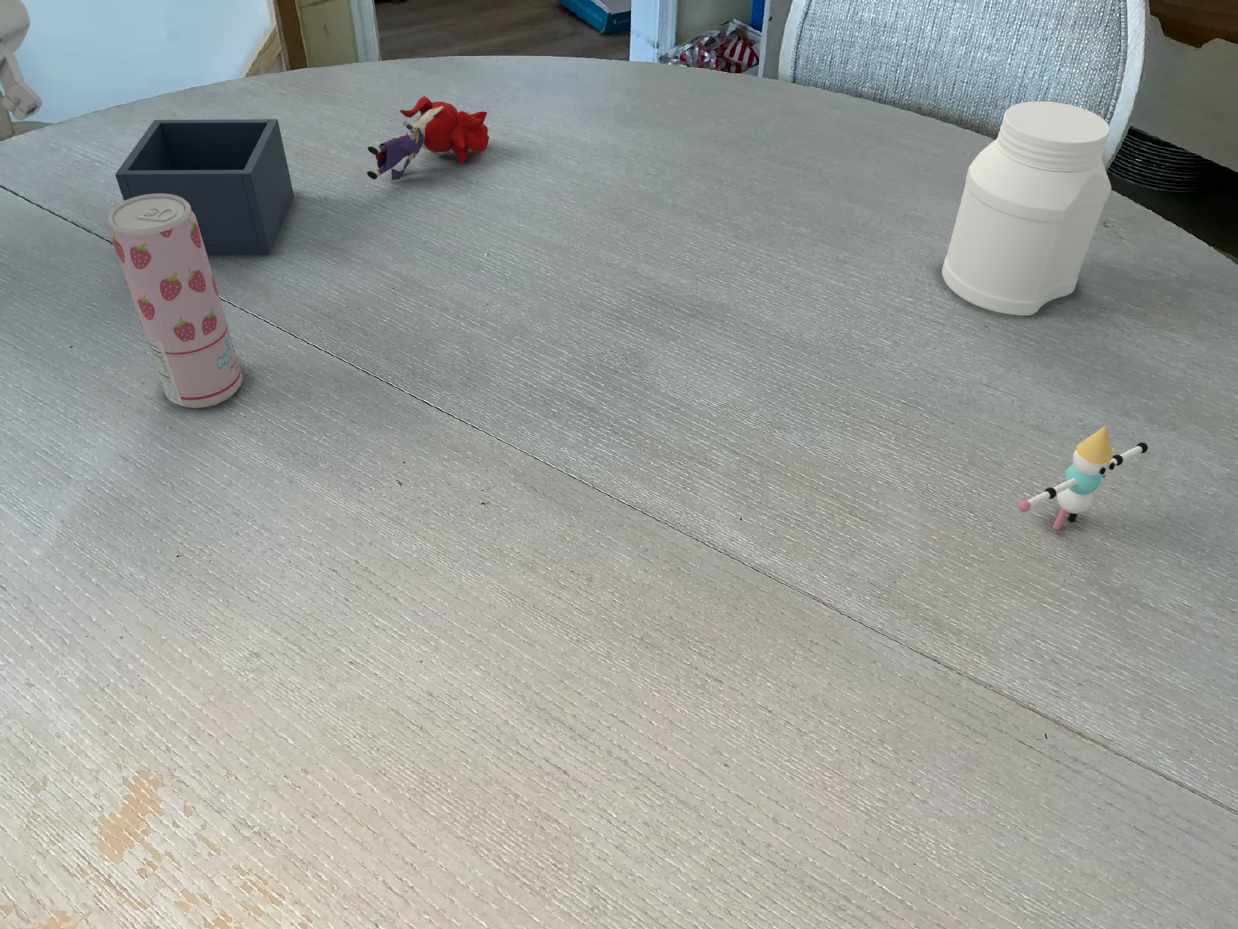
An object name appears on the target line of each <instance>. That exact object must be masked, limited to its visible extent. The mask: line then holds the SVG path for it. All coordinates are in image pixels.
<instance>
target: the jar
mask: <svg viewBox="0 0 1238 929" xmlns="http://www.w3.org/2000/svg"><path fill="white" fill-rule="evenodd" d="M1110 133H1111V128H1110V125H1109V124H1108V122H1107V120H1105V119H1104V118H1103V117H1102V116H1100V115H1098V114H1096V113H1094V112H1092V111H1090V110H1088V109H1086V108H1082V107H1080V106H1075V105H1072V104H1067V103H1062V102H1056V101H1055V102H1054V101H1046V100H1045V101H1044V100H1043V101H1042V100H1041V101H1034V100H1033V101H1025V102H1020V103H1016V104H1013V105H1012V106H1010V107H1008V108H1007V109H1006V110H1005V112H1004V113H1003V118H1002V122H1001V125H1000V128H999V132H998V135H997V137H996V138H995V140H993V141H992V142H991V143H989V144H988V145H987V146H986V147H985V148H983V149H982V150H981V151H980V152H979V153H978V154H977V155H976V157H975V158H974V159H973V161H972V162H971V164H970V165H969V166H968V169H967V173H966V177H965V184H964V188H963V193H962V196H961V200H960V204H959V208H958V211H957V215H956V220H955V223H954V227H953V230H952V235H951V238H950V242H949V245H948V249H947V253H946V255H945V257H944V261H943V264H942V268H941V275H942V278H943V280H944V282H945V284H946V285H947V287H948V288H949V289H950V290H951V291H952V292H953V293H954V294H956V295H957V296H958V297H960V298H961V299H963V300H965V301H966V302H968V303H970V304H971V305H974V306H976V307H979V308H982V309H984V310H987V311H990V312H994V313H998V314H1004V315H1010V316H1020V317H1021V316H1022V317H1023V316H1024V317H1030V316H1033V315H1034V314H1036V313H1038V312H1039V309H1040V308H1042V306H1044V305H1046V304H1047V303H1049V302H1051V301H1053V300H1056V299H1059V298H1064V297H1067V296H1069V295H1072V294H1073V292H1075V289H1076V286H1077V283H1078V280H1079V275H1080V272H1081V269H1082V267H1083V264H1084V261H1085V258H1086V256H1087V253H1088V250H1089V248H1090V245H1091V243H1092V239H1093V237H1094V234H1095V232H1096V229H1097V226H1098V223H1099V221H1100V218H1101V215H1102V212H1103V210H1104V207H1105V204H1106V202H1107V201H1108V200H1109V196H1110V193H1111V191H1112V185H1111V181H1110V179H1109V176H1108V173H1107V170H1106V168H1105V164H1104V162H1103V153H1104V151H1105V148H1106V147H1105V146H1106V145H1107V143H1108V139H1109V136H1110Z"/></svg>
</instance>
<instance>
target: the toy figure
mask: <svg viewBox="0 0 1238 929" xmlns="http://www.w3.org/2000/svg"><path fill="white" fill-rule="evenodd" d="M1110 441H1111V440H1110V437H1109V432H1108V428H1107V425H1105V426H1103V427H1102V428H1100V429H1098V430H1097V431H1095V432H1094V433H1092V434H1091V435H1089V436H1088V437H1086V438H1085V439H1084V440H1082V441H1080V442H1079V443H1078V444H1077V445H1076V449H1075V450H1074V452H1073V455H1072V462H1073V463H1072V464H1070V466H1069V467H1068V468H1067V469H1066V470H1065V474H1064V481H1063V482H1062V483H1060V484H1058V485H1056V486H1054V487H1047V488H1045V489H1044V491H1043V492H1041V493H1040V494H1037V495H1036V496H1033V497H1032V498H1029V499H1028V500H1026V499H1023V500H1021V501H1019V503H1018V504H1017V508H1018V510H1019V511H1021V512H1023V513H1026V512H1028V511H1030V509H1031V507H1034V506H1036V505H1038V504H1040V503H1042V502H1044V501H1046V500H1048V499H1049V500H1052V499H1055V498H1056V500H1057V503H1058V506H1059V507H1060V509H1059V511H1058V515H1057V516H1056V519H1055V521H1054V523H1053V526H1052V527H1053V529H1054V530H1057V531H1059V530H1061V528H1062V526H1063V523H1064V522H1065V519H1066V518H1067V521H1068V522H1069V523H1075V521H1076V519H1077V517H1078V515H1079V514H1081V513H1083V512H1086V511H1087V510H1088V509H1089V508H1090V507H1091V506H1092V505H1093V500H1094V499H1093V498H1094V492H1096V491H1097V490H1098V489H1099V487H1100V486H1101V483H1102V478H1105V477H1106V475H1104V474H1105V473H1106V471H1107V470H1110V471H1113V470H1114V469H1115V467H1116V466H1117V467H1119V466H1121V465H1122V464H1123V462H1124V461H1126V460H1128V459H1130V458H1132V457H1135V456H1137V455H1139V454H1145V453H1147V451H1148V450H1149V446H1148V444H1147V442H1142V441H1141V442H1138V443H1137V444H1136V445H1135V447H1132V448H1131V449H1129V450H1127V451H1125V452H1122V453H1120V454H1114V455H1113V450H1112V446H1111V442H1110ZM1068 513H1069V515H1068ZM1067 515H1068V517H1067Z"/></svg>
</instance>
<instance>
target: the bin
mask: <svg viewBox="0 0 1238 929" xmlns="http://www.w3.org/2000/svg"><path fill="white" fill-rule="evenodd" d="M114 175H115V176H114V177H115V179H116V181H117V185H118V188H119V191H120V194H121V197H122V200H123V201H125V200H128V199H130V198H133V197H137V196H141V195H147V194H172V195H176V196H179V197H181V198H183V199H184V200H186V201H187V202H188V203H189V205H190V206H191V211H192V212H193V213H194V214H195V216H196V219H197V223H198V226H199V230H200V233H201V236H202V240H203V243H204V247H205V250H206V254H207V256H219V255H220V256H229V255H233V256H237V255H238V256H239V255H241V256H242V255H246V256H247V255H249V256H250V255H271V253H272V251H273V248H274V246H275V243H276V241H277V238H278V236H279V233H280V231H281V229H282V226H283V224H284V221H285V218H286V216H287V215H288V211H289V209H290V207H291V204H292V202H293V200H294V197H295V195H294V190H293V184H292V180H291V175H290V171H289V165H288V161H287V156H286V152H285V147H284V142H283V137H282V133H281V128H280V123H279V119H278V118H270V119H269V118H268V119H267V118H265V119H264V118H259V119H258V118H255V119H254V118H253V119H251V118H249V119H248V118H246V119H244V118H243V119H240V118H239V119H235V118H234V119H233V118H231V119H226V118H225V119H154V120H153V121H152V122H151V124H150V126H149V127H148V128H147V129H146V131H145V132H144V133H143V135H142V136H141V138H140V139H139V140H138V142H137V143H136V144H135V146H134V148H133V149H132V150H131V152H130V153H129V154H128V155H127V157H126V158H125V159H124V161H123V163H122V164H121V165H120V167H119V169H118V170H117V171H116V172H115V174H114Z"/></svg>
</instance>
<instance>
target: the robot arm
mask: <svg viewBox="0 0 1238 929" xmlns="http://www.w3.org/2000/svg"><path fill="white" fill-rule="evenodd" d="M30 26H31V19H30V15H29V11H28V8H27V7H26V4H24V3H23V1H22V0H0V84H1V87H2V90H3V91H4V96H3V97H2V99H1V100H0V105H1V106H2V107H3V108H5V110H6V111H8V112H10V113H12V116H13V117H14V118H15V119H16V120H17V121H23V120H25V119H27V118H29V117H31V116H34V115H36V114H37V113H39V110H40V109H41V107H42V105H43V101H42V99H41V97H40V96H39V95H38V93H36V92H35V91H34V89H32V88H31V87H30V86H29V85H28V84H27V83H26V82H25V79H24V76H23V73H22V71H21V68H20V65H19V63H18V60H17V57H16V55H15V53H14V52H16V51H17V50H19V49H20V47H21V46H22V44H23V42H24V40H25V38H26V36H27V34H28V32H29V29H30Z"/></svg>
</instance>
